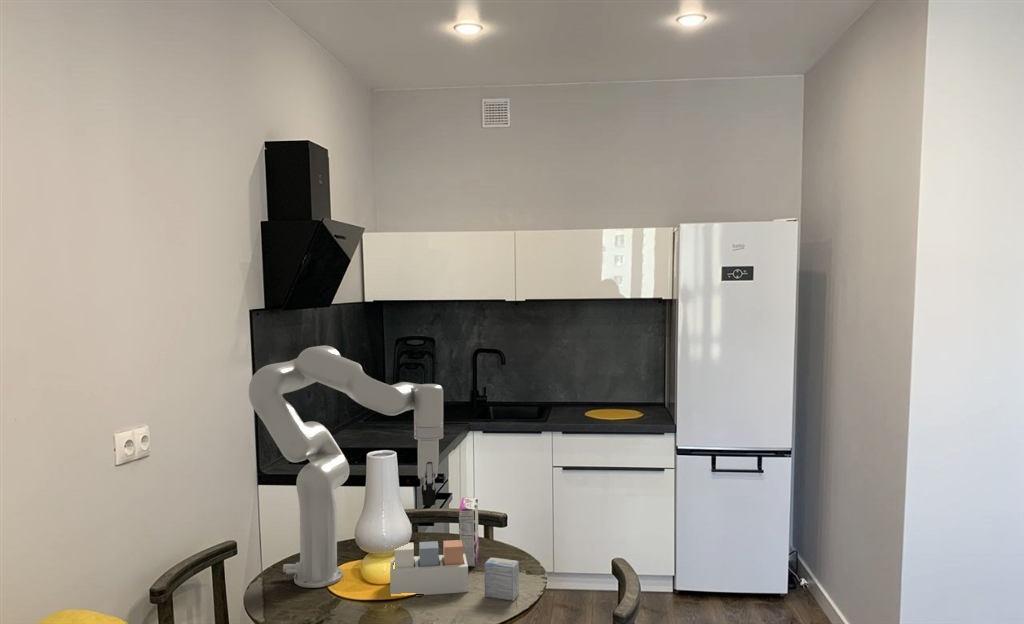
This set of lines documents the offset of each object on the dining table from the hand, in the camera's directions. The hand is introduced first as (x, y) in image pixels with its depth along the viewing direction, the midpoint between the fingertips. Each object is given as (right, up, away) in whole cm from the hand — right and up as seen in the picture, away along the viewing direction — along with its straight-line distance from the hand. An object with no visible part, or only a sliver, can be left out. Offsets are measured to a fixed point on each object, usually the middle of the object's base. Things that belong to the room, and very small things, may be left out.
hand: (428, 501), depth 172 cm
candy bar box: (+9, -22, +19) cm, 31 cm away
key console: (0, -22, 0) cm, 22 cm away
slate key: (0, -17, 0) cm, 17 cm away
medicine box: (+19, -23, -5) cm, 30 cm away
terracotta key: (+6, -17, +1) cm, 19 cm away
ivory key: (-6, -17, -1) cm, 19 cm away
